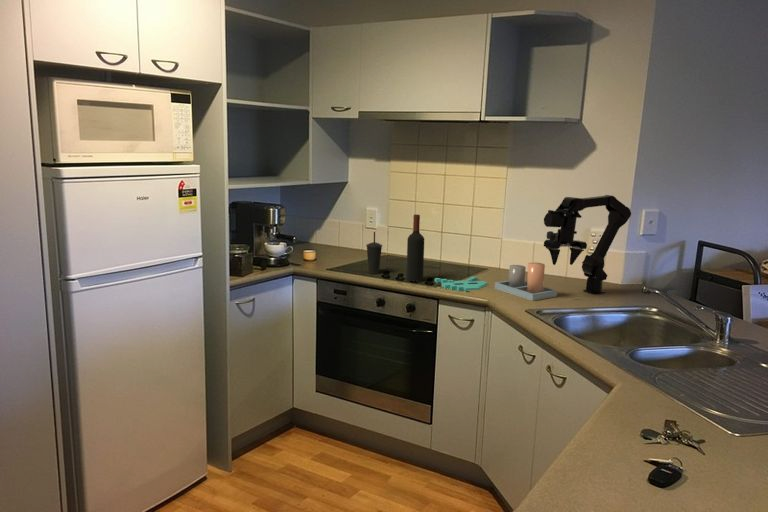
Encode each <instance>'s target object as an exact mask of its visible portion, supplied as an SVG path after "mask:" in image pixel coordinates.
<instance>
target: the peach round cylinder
mask: <svg viewBox="0 0 768 512" xmlns="http://www.w3.org/2000/svg"><path fill="white" fill-rule="evenodd" d="M545 267H546V265H545V263H542V262H529V263H528V264H527V278H526V281H527V292H529V293H532V294H534V293H540V292H543V286H544V284H545V283H544V282H545ZM544 287H545V286H544Z"/></svg>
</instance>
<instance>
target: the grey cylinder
mask: <svg viewBox="0 0 768 512" xmlns="http://www.w3.org/2000/svg"><path fill="white" fill-rule="evenodd" d="M508 281H509V285H508V286H510V287H513V288H517V287H523V286H524V283H525V281H526V266H525V265H520V264H511V265H509V271H508Z"/></svg>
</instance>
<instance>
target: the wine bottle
mask: <svg viewBox="0 0 768 512" xmlns="http://www.w3.org/2000/svg"><path fill="white" fill-rule="evenodd" d="M412 220H413V223H412V224H413V226H412V233H410V234H409V235H408V237H407V239H406V240H407V245H406V246H407V247H406V279H405V280H407V282H408V281H413V280H417V281H419V282H418V283H422V282H424V267H425V266H424V265H425V264H424V263H425V237H424V236H423V234H421V232H420V220H421V215H420V214H413V219H412Z"/></svg>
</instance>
